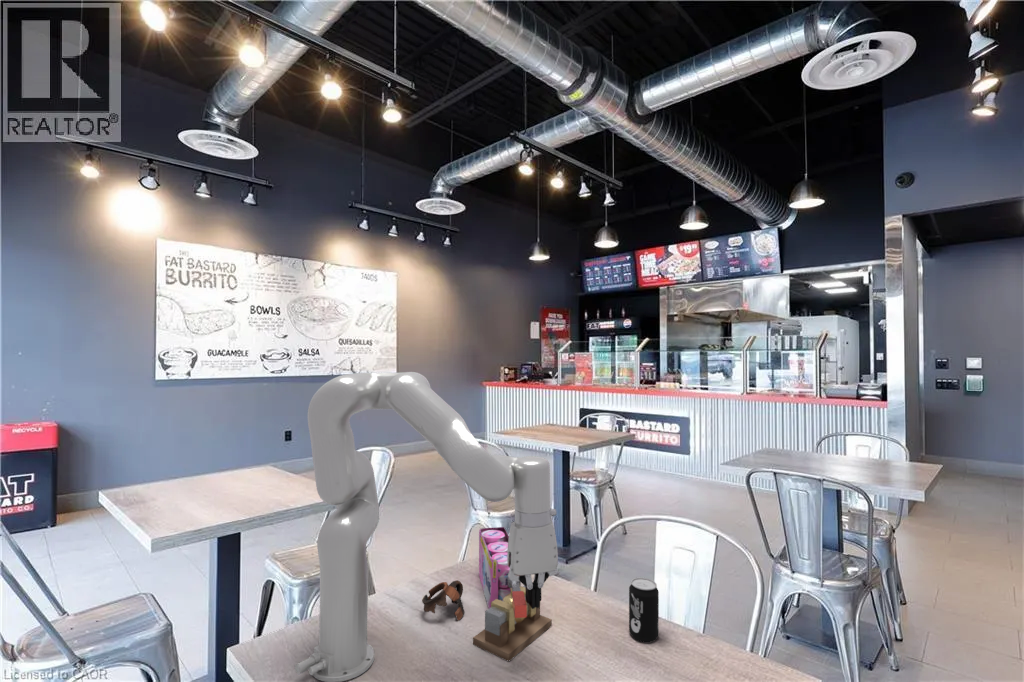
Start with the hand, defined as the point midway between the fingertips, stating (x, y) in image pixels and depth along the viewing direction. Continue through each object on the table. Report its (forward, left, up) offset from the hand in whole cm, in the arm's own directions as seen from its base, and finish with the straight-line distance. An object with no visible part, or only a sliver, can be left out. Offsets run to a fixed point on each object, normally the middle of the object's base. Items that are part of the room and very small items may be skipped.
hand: (533, 604), depth 102 cm
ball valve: (+6, +9, -9) cm, 14 cm away
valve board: (+6, +9, -12) cm, 16 cm away
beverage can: (+24, -15, -12) cm, 30 cm away
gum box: (+20, +25, -12) cm, 34 cm away
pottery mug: (+4, +29, -12) cm, 31 cm away
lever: (+1, +5, -1) cm, 5 cm away
